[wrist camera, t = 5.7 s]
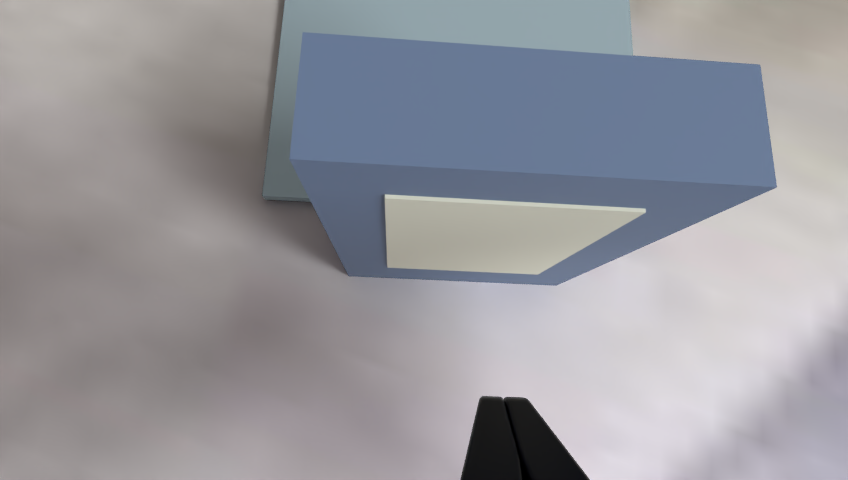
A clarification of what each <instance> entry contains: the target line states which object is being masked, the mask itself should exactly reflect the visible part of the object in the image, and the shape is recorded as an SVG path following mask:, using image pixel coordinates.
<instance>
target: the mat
mask: <svg viewBox="0 0 848 480" xmlns="http://www.w3.org/2000/svg"><path fill="white" fill-rule="evenodd" d="M303 32H309V33H323V34H337V35H351V36H365V37H379V38H393V39H407V40H421V41H435V42H449V43H463V44H477V45H491V46H505V47H519V48H533V49H547V50H561V51H575V52H589V53H603V54H617V55H631V56H633V48H632V34H631V20H630V5H629V0H285V4H284V13H283V21H282V30H281V38H280V47H279V56H278V64H277V73H276V81H275V90H274V98H273V107H272V115H271V124H270V133H269V141H268V150H267V158H266V167H265V175H264V184H263V193H262V196H263V197H264V199H266V200H284V201H303V202H311V201H310V199H309V197H308V195H307V193H306V191H305V189H304V187H303V185H302V183H301V181H300V179H299V177H298V175H297V173H296V171H295V169H294V167H293V165H292V163H291V162H290V160H289V157H290V148H291V138H292V129H293V119H294V110H295V100H296V91H297V81H298V72H299V62H300V53H301V43H302V34H303Z"/></svg>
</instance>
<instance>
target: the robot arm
mask: <svg viewBox="0 0 848 480" xmlns="http://www.w3.org/2000/svg"><path fill="white" fill-rule="evenodd" d="M461 480H590V479H589V478H588V477H587V475H586V474H585V473H584V472H583V470H582V469H581V468H580V466H579V465H578V464H577V462H576V461H575V460H574V459H573V457H572V456H571V455H570V453H569V452H568V451H567V449H566V448H565V447H564V446H563V444H562V443H561V442H560V440H559V439H558V438H557V436H556V435H555V434H554V433H553V431H552V430H551V429H550V427H549V426H548V425H547V423H546V422H545V421H544V420H543V418H542V417H541V416H540V414H539V413H538V412H537V410H536V409H535V408H534V406H533V405H532V404H531V403H530V401H529V400H528V399H526V398H522V397H505V398H504V399H502V398H501V397H493V396H482V397H481V398H480V399H479V403H478V407H477V412H476V416H475V420H474V424H473V429H472V433H471V437H470V441H469V446H468V450H467V454H466V459H465V463H464V467H463V471H462V476H461Z"/></svg>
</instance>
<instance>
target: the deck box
mask: <svg viewBox="0 0 848 480" xmlns="http://www.w3.org/2000/svg"><path fill="white" fill-rule="evenodd" d="M289 160H290V162H291V163H292V165H293V167H294V169H295V171H296V173H297V175H298V177H299V179H300V181H301V183H302V185H303V187H304V189H305V191H306V193H307V195H308V197H309V199H310V201H311V203H312V205H313V207H314V209H315V211H316V213H317V215H318V217H319V219H320V221H321V223H322V225H323V227H324V229H325V231H326V232H327V234H328V236H329V238H330V240H331V242H332V244H333V246H334V248H335V250H336V252H337V254H338V256H339V258H340V260H341V262H342V264H343V266H344V268H345V270H346V272H347V274H348V276H359V277H381V278H403V279H425V280H447V281H469V282H491V283H513V284H535V285H558V284H561V283H563V282H565V281H567V280H570V279H572V278H574V277H576V276H579V275H581V274H583V273H585V272H588V271H590V270H592V269H594V268H597V267H599V266H601V265H603V264H606V263H608V262H610V261H612V260H614V259H617V258H619V257H621V256H623V255H626V254H628V253H630V252H632V251H635V250H637V249H639V248H641V247H644V246H646V245H648V244H650V243H653V242H655V241H657V240H659V239H662V238H664V237H666V236H668V235H671V234H673V233H675V232H677V231H680V230H682V229H684V228H686V227H689V226H691V225H693V224H695V223H698V222H700V221H702V220H704V219H707V218H709V217H711V216H713V215H716V214H718V213H720V212H722V211H725V210H727V209H729V208H731V207H734V206H736V205H738V204H740V203H743V202H745V201H747V200H749V199H751V198H754V197H756V196H758V195H760V194H763V193H765V192H767V191H769V190H772V189H774V188H776V187H777V185H776V178H775V170H774V163H773V156H772V148H771V141H770V134H769V126H768V119H767V111H766V104H765V97H764V89H763V82H762V75H761V67H760V65H757V64H743V63H729V62H715V61H701V60H687V59H673V58H659V57H645V56H631V55H617V54H603V53H589V52H575V51H561V50H547V49H533V48H519V47H505V46H491V45H477V44H463V43H449V42H435V41H421V40H407V39H393V38H379V37H365V36H351V35H337V34H323V33H309V32H303V34H302V43H301V53H300V62H299V72H298V81H297V91H296V100H295V110H294V119H293V129H292V138H291V148H290V157H289Z"/></svg>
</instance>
